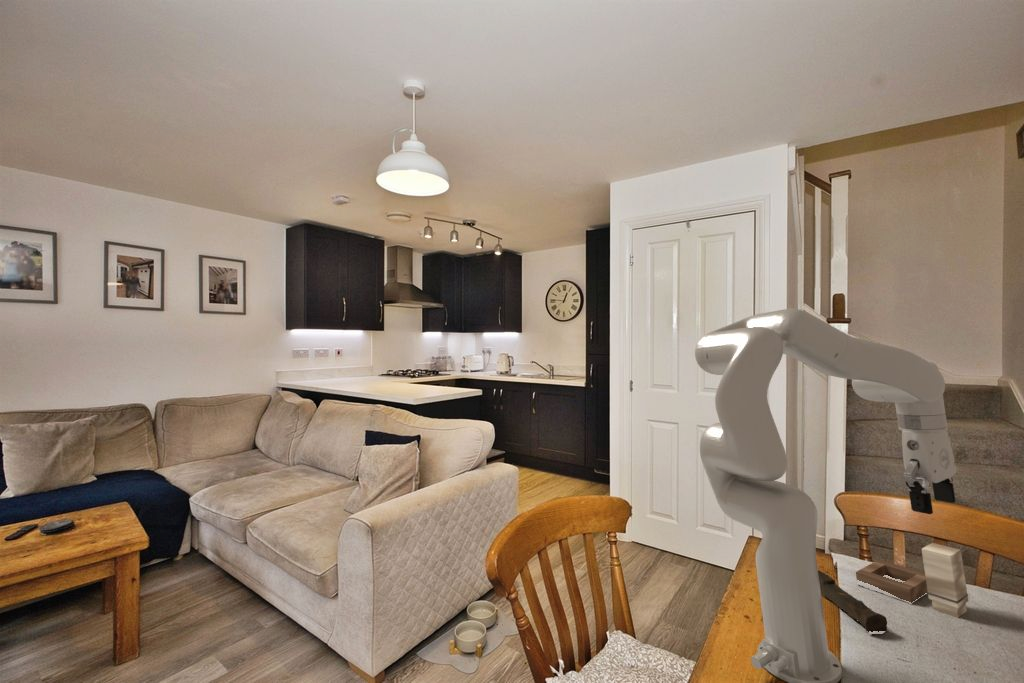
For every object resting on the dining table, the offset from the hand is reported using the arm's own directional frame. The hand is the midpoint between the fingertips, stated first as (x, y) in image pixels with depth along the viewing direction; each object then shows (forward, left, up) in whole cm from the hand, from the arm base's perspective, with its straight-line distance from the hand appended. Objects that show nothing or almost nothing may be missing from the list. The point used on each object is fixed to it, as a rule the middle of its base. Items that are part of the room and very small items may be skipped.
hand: (934, 506), depth 92 cm
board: (+2, +10, -20) cm, 23 cm away
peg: (0, 0, -20) cm, 20 cm away
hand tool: (-15, +12, -21) cm, 28 cm away
